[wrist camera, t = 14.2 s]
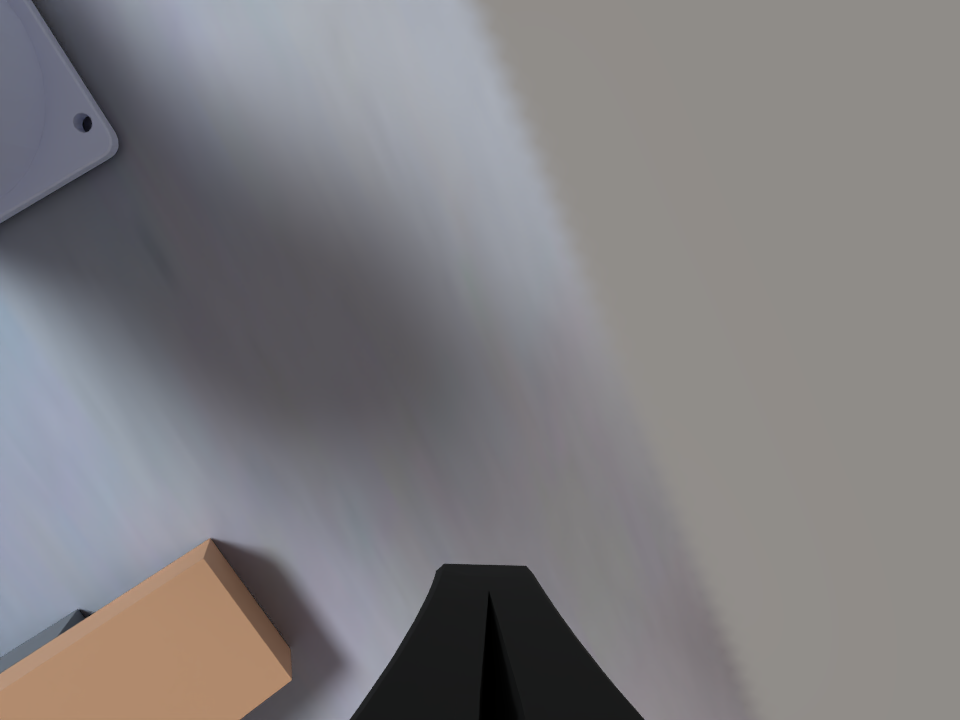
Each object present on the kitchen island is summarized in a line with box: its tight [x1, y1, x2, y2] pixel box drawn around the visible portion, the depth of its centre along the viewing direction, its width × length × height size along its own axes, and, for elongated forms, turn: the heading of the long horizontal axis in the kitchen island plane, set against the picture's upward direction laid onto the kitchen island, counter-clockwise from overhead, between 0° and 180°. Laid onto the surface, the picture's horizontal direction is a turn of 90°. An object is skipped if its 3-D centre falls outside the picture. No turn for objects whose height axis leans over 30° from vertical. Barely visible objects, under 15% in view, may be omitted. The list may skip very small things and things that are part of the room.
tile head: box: [0, 538, 292, 720], centre depth 18 cm, size 5×2×7 cm
